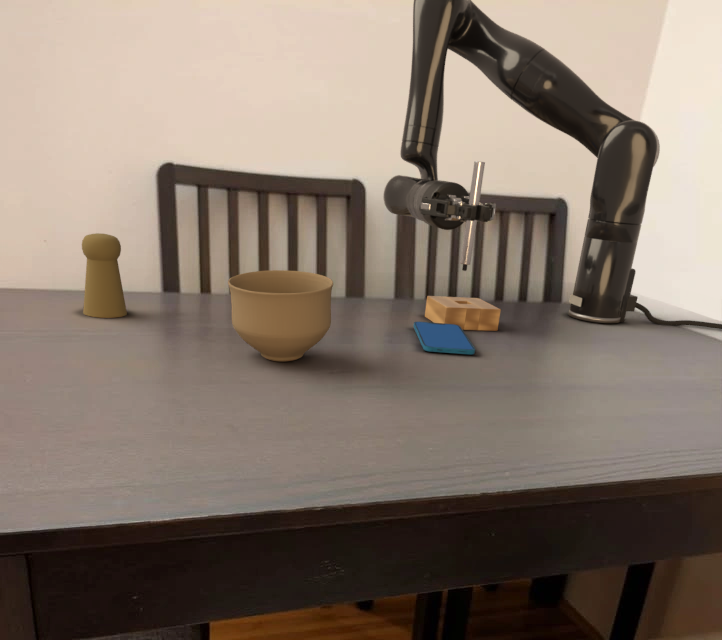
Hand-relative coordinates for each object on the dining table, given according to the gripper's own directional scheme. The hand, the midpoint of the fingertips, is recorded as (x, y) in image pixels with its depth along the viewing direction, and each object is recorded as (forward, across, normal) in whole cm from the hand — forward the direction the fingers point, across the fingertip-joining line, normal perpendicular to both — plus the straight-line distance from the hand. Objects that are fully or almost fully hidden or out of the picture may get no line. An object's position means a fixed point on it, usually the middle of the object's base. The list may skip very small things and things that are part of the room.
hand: (480, 214), depth 110 cm
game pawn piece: (-4, -55, +18) cm, 58 cm away
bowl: (+20, -33, +18) cm, 42 cm away
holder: (-4, +1, +18) cm, 18 cm away
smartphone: (+9, -7, +18) cm, 21 cm away
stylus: (-3, 0, +9) cm, 9 cm away
